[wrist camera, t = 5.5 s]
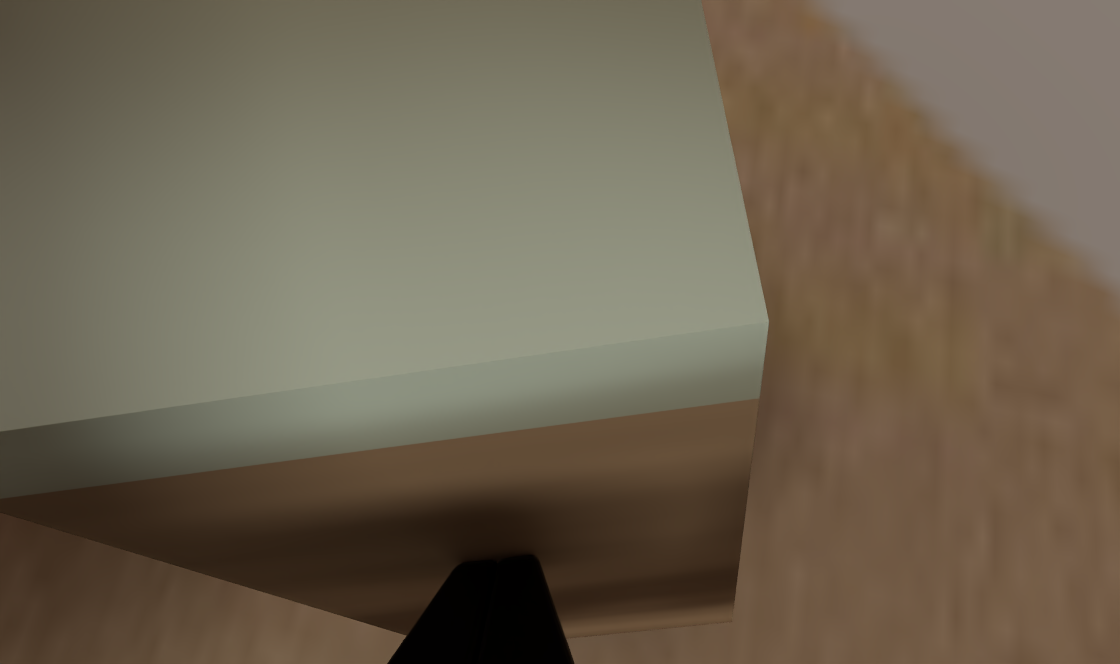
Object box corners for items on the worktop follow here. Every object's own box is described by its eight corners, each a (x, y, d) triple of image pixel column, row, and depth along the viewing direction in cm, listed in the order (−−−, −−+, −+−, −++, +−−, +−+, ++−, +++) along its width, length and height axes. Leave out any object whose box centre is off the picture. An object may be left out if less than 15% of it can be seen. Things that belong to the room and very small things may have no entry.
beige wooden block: (732, 621, 15) (767, 323, 4) (454, 649, 15) (-180, 457, 4) (690, 360, 17) (639, -290, 6) (449, 394, 17) (16, -145, 7)
